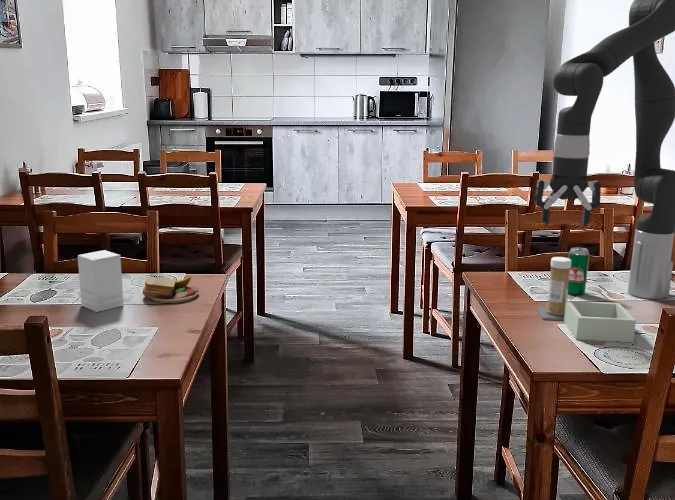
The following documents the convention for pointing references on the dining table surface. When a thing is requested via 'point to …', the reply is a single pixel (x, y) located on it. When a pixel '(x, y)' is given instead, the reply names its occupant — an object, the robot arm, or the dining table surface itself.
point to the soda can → (578, 271)
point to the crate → (599, 321)
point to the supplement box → (100, 280)
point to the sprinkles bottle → (558, 285)
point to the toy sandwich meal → (169, 290)
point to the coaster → (548, 315)
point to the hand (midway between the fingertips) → (564, 225)
